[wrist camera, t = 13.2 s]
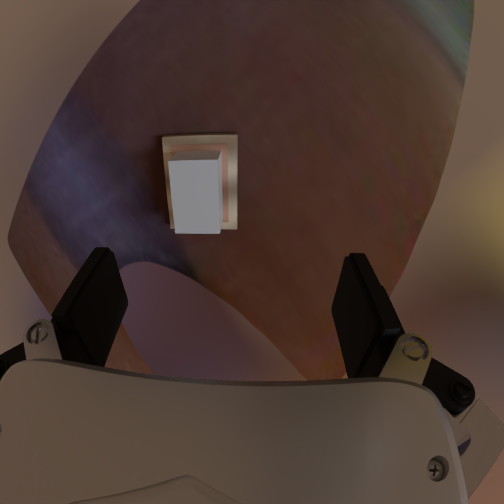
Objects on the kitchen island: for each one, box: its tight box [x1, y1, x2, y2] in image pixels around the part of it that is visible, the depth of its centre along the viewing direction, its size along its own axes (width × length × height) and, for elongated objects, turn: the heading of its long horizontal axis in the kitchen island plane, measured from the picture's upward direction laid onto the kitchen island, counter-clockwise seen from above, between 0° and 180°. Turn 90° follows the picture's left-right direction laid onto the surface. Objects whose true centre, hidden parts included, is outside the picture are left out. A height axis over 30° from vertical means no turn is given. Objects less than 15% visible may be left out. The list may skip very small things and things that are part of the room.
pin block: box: [162, 133, 238, 229], centre depth 39 cm, size 14×10×4 cm
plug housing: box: [168, 151, 223, 234], centre depth 37 cm, size 10×6×4 cm, turn 179°
